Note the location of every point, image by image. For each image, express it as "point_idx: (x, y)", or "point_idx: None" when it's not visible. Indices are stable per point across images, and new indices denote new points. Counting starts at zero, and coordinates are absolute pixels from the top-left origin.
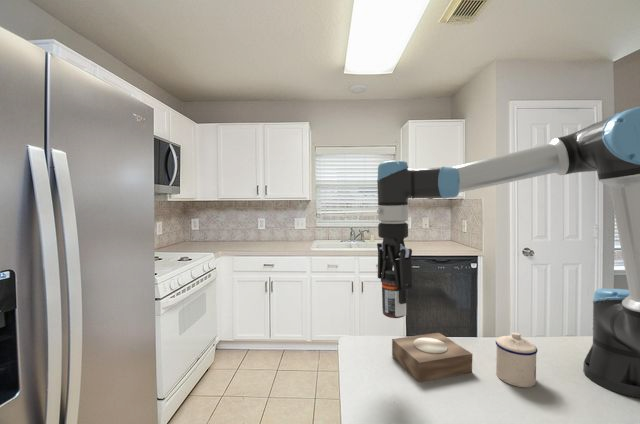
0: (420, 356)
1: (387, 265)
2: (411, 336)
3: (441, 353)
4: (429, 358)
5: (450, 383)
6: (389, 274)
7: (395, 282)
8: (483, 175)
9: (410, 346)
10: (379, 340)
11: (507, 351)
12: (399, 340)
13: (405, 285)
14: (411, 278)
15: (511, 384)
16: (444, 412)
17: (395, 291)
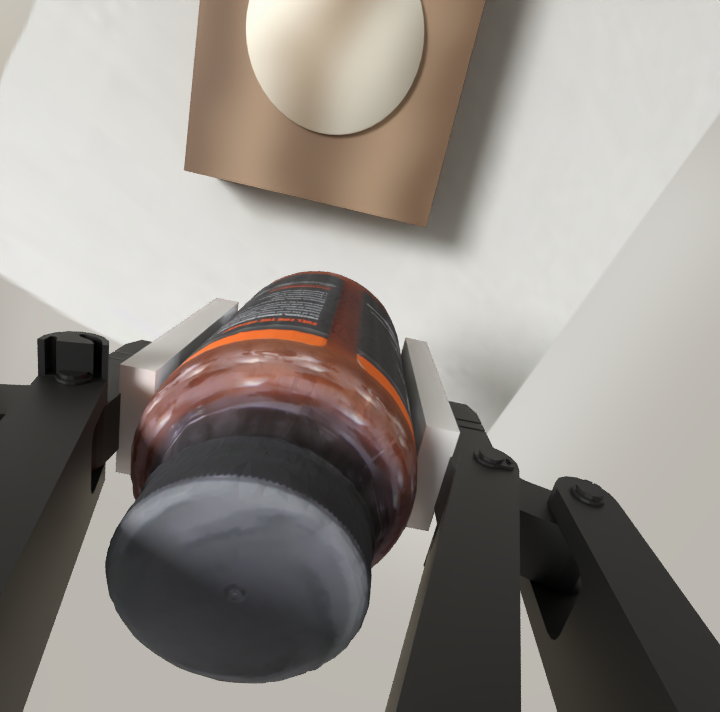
0: (390, 179)
1: (18, 667)
2: (197, 40)
3: (422, 54)
4: (425, 156)
5: (486, 118)
6: (291, 663)
7: (377, 552)
8: None
9: (292, 145)
10: (54, 120)
11: None
12: (213, 146)
13: (580, 580)
14: (678, 594)
15: None
16: (569, 277)
17: (409, 518)
